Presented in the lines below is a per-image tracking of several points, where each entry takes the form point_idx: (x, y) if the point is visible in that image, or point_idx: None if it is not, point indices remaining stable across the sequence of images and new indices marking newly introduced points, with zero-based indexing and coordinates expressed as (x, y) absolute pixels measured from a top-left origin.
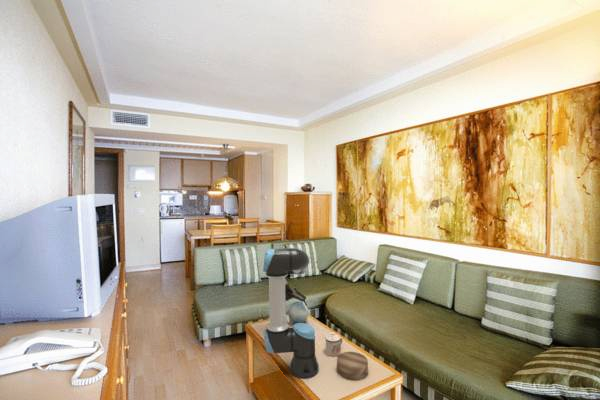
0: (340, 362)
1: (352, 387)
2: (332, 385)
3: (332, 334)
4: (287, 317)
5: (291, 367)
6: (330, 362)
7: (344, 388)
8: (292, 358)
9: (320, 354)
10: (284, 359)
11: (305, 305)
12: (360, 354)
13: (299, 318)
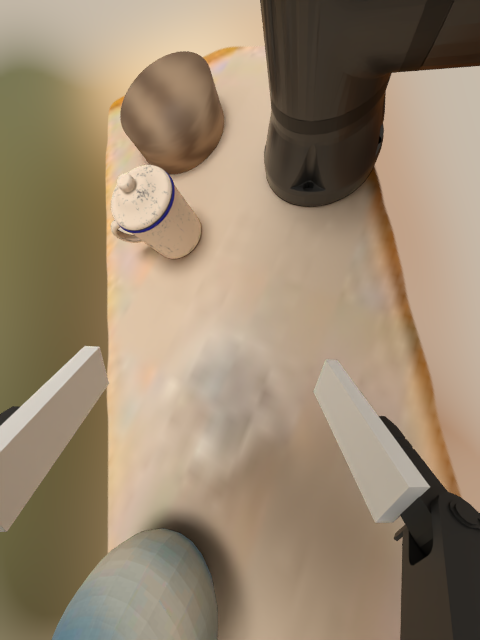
0: (203, 84)
1: (221, 70)
2: (266, 79)
3: (131, 176)
4: (347, 390)
5: (382, 129)
6: (215, 183)
7: (242, 67)
8: (381, 115)
9: (222, 236)
10: (376, 241)
11: (32, 396)
12: (124, 122)
13: (169, 547)
